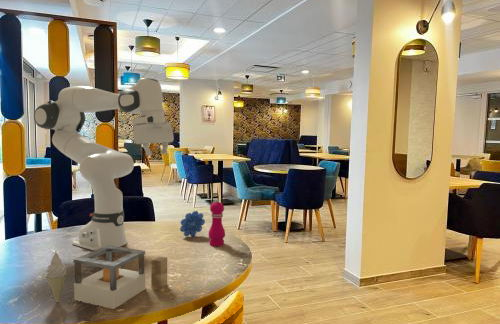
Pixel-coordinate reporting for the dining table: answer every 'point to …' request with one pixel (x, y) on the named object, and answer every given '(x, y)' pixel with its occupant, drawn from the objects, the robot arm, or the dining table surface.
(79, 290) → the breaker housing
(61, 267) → the ice cream cone
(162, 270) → the wooden toy block
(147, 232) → the dining table surface
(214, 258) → the dining table surface
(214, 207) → the pepper mill
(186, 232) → the blue flower gear
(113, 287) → the guard frame
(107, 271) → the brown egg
